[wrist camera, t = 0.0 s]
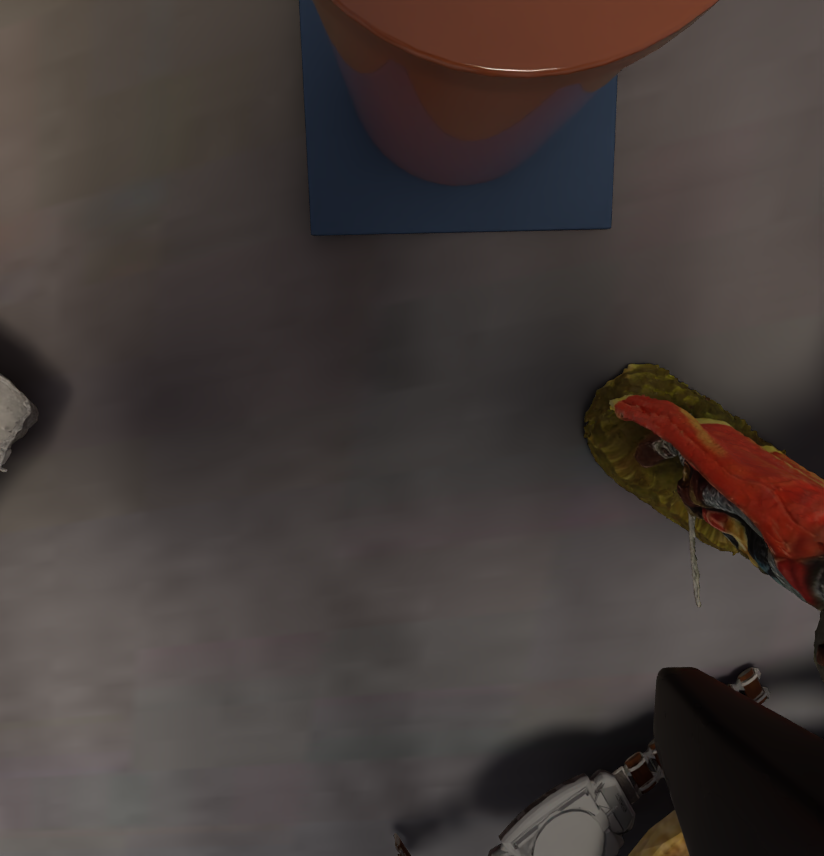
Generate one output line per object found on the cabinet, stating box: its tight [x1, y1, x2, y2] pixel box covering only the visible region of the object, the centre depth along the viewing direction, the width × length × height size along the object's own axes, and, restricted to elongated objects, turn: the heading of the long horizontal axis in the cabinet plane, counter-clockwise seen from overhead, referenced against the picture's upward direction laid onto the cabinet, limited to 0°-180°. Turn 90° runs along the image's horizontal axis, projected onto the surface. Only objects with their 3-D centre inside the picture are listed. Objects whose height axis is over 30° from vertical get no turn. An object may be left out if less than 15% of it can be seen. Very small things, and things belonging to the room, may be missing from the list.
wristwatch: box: [393, 667, 770, 856], centre depth 25 cm, size 4×14×5 cm, turn 118°
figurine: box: [584, 364, 824, 682], centre depth 17 cm, size 8×5×12 cm, turn 47°
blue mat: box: [299, 0, 617, 236], centre depth 20 cm, size 9×9×1 cm
